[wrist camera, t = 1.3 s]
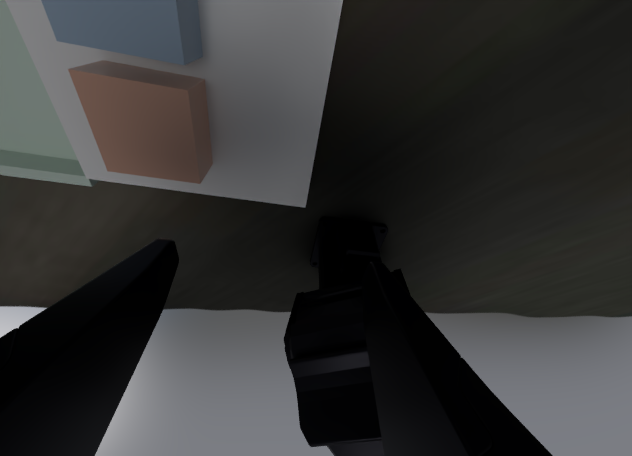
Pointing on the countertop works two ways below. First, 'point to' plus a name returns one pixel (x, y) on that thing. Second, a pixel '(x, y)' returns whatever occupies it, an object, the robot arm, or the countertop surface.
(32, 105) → the tray
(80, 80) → the terracotta tile
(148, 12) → the slate blue tile
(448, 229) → the countertop surface
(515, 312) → the countertop surface
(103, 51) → the plate
